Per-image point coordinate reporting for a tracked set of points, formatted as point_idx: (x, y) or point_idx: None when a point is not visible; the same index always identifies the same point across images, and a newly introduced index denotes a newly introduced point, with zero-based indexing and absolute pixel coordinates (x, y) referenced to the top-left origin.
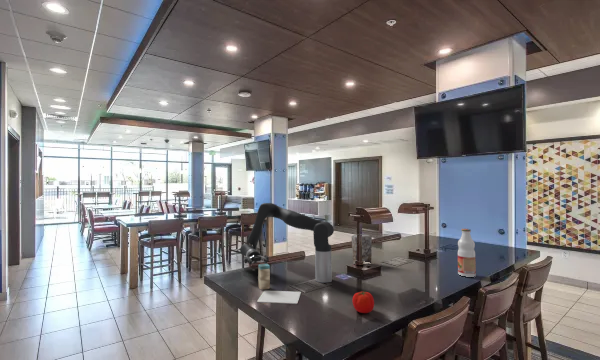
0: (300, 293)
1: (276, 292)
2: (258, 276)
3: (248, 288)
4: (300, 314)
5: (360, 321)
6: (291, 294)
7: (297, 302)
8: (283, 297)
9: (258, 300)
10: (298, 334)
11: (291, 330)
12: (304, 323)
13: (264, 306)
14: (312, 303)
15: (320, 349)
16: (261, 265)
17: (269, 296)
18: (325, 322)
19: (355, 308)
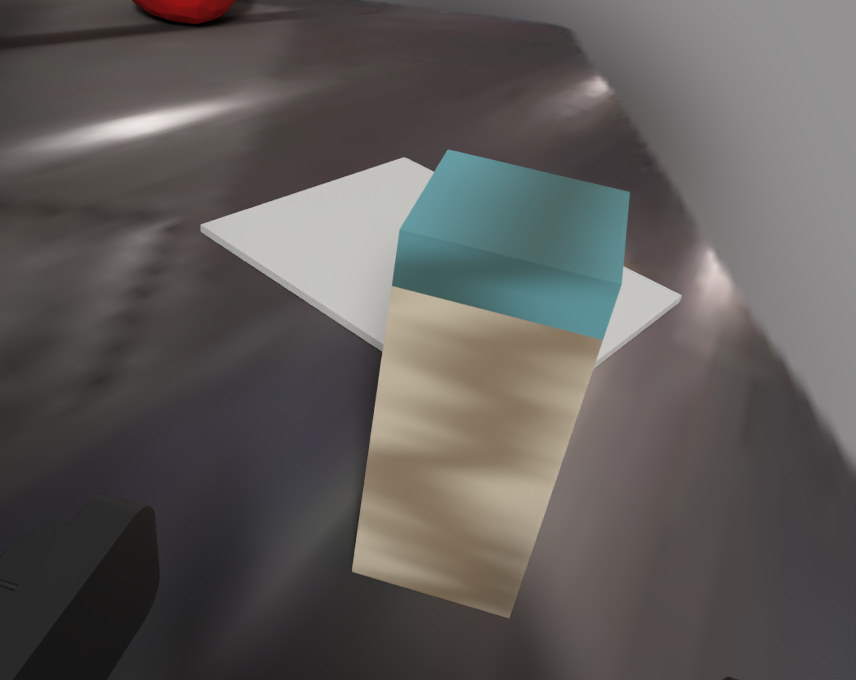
0: (237, 212)
1: None
2: (553, 486)
3: (690, 654)
4: (477, 114)
5: (291, 12)
6: (323, 236)
7: (395, 161)
8: None
9: (663, 299)
10: (586, 72)
11: (599, 89)
12: (515, 85)
13: (639, 239)
14: (309, 129)
15: (563, 31)
16: (582, 221)
17: None
18: (424, 56)
19: (230, 2)
